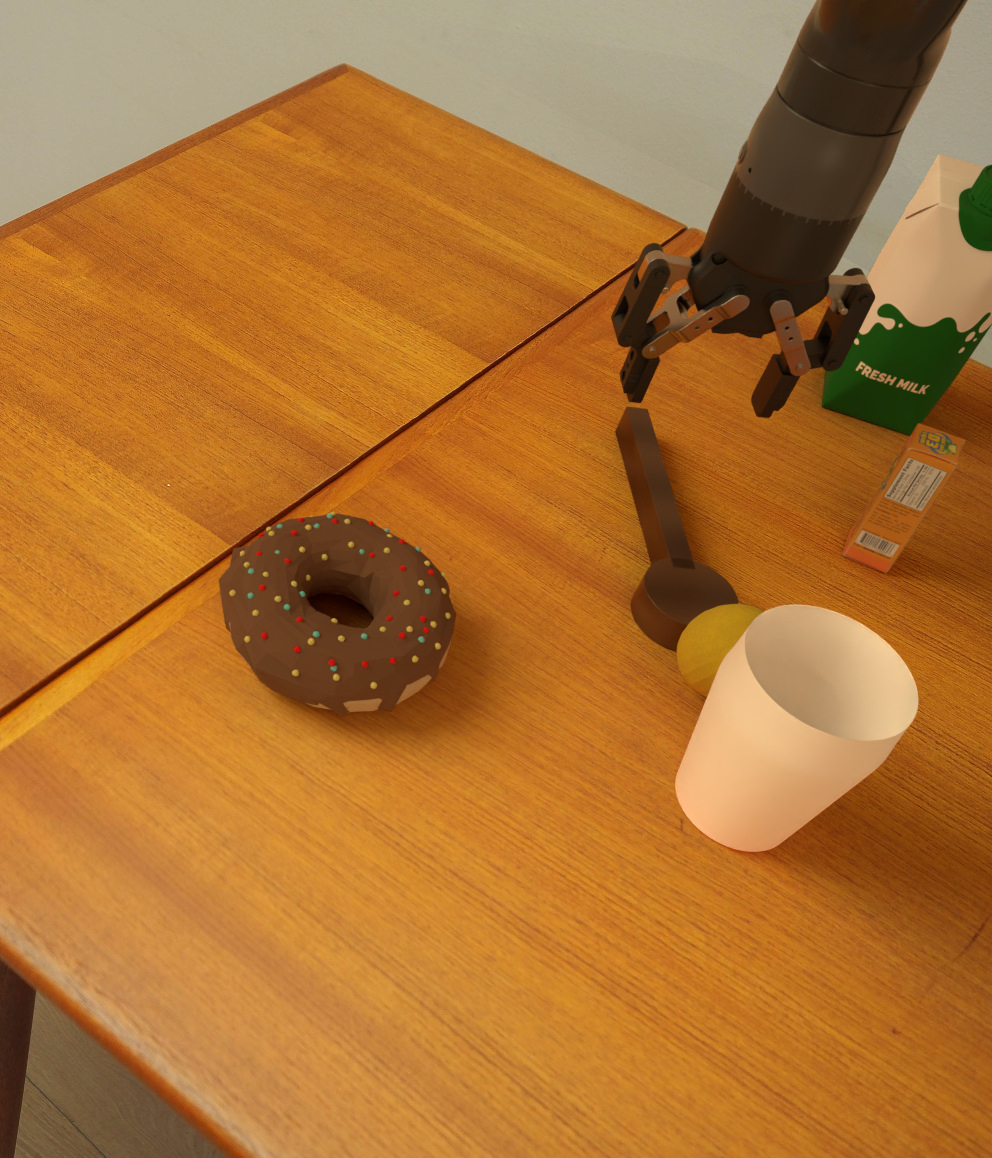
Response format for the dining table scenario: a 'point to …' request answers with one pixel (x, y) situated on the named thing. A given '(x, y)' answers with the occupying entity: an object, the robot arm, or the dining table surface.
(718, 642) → the lemon
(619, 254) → the dining table surface
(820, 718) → the cup
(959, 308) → the milk carton
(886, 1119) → the dining table surface
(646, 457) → the wooden spoon
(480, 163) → the dining table surface
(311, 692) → the donut
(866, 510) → the supplement box
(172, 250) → the dining table surface
